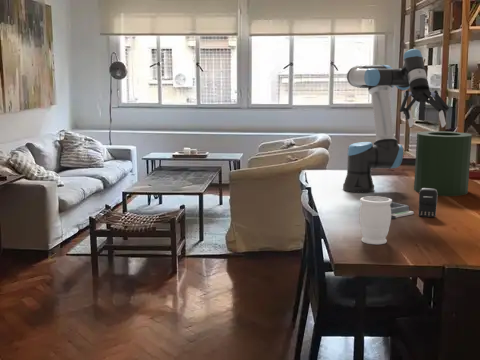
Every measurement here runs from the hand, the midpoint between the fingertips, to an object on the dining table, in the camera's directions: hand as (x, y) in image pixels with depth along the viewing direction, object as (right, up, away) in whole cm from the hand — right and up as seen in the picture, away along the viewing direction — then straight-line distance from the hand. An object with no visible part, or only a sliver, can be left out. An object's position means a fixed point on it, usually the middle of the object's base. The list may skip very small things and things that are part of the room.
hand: (427, 125), depth 239 cm
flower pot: (+22, -28, +50) cm, 61 cm away
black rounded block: (-1, -37, -2) cm, 37 cm away
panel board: (-14, -36, +5) cm, 39 cm away
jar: (-30, -43, -37) cm, 65 cm away
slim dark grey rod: (-20, -36, +1) cm, 41 cm away
